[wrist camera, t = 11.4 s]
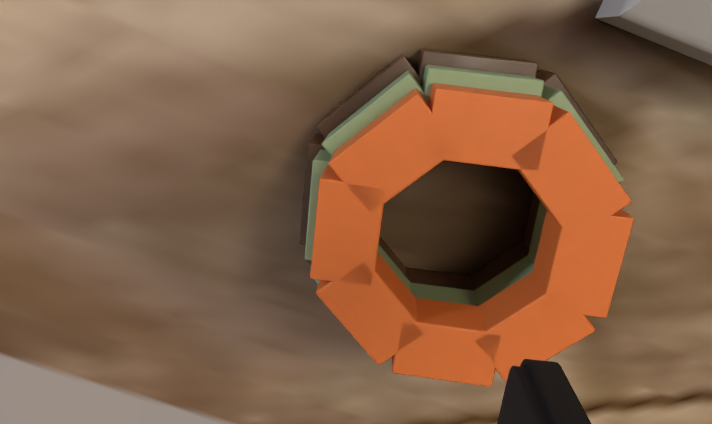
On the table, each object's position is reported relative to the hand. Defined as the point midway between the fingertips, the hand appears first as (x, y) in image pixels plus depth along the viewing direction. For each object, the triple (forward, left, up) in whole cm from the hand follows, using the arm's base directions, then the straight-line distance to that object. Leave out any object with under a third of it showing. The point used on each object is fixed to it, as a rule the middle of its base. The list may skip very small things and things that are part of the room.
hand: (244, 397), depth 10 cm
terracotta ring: (+5, 0, -11) cm, 12 cm away
